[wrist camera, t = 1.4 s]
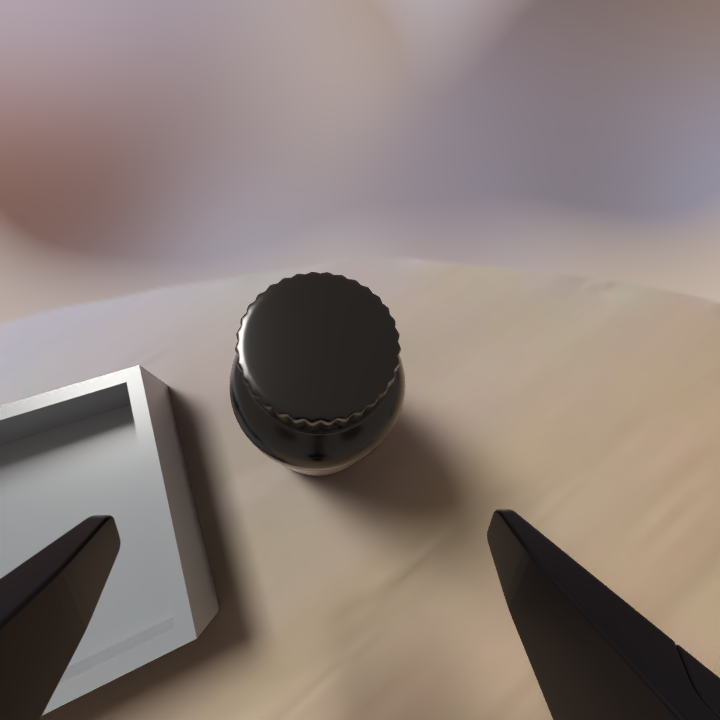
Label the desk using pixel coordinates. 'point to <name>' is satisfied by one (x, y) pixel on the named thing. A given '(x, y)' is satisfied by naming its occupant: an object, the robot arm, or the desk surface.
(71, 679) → the box
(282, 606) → the desk surface
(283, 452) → the supplement bottle
